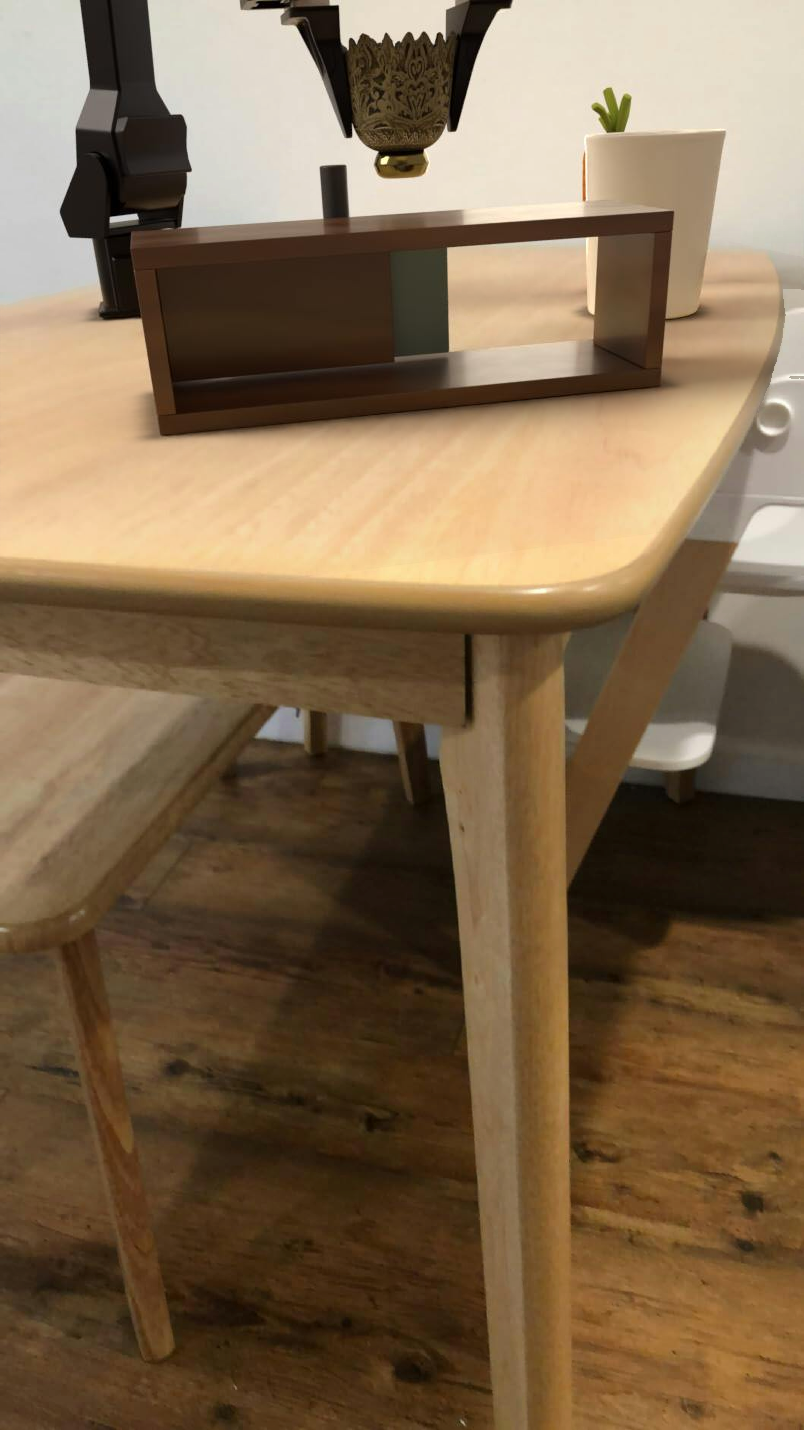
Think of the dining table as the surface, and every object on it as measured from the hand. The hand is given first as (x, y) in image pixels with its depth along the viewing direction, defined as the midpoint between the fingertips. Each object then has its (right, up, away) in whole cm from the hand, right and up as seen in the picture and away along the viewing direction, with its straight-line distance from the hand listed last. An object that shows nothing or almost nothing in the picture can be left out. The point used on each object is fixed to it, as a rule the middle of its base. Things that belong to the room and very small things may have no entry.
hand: (400, 134), depth 68 cm
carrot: (+18, -1, +22) cm, 29 cm away
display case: (0, -19, -8) cm, 21 cm away
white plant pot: (+19, -7, +12) cm, 23 cm away
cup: (0, -2, +1) cm, 3 cm away
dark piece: (-4, -16, -3) cm, 16 cm away
